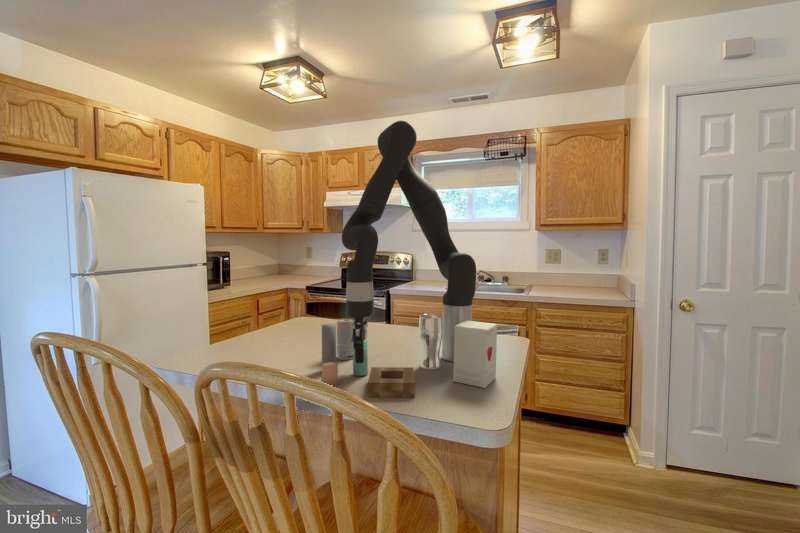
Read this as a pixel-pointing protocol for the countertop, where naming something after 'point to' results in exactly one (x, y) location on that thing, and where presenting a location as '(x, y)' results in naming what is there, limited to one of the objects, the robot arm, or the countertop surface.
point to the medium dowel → (361, 368)
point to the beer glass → (430, 340)
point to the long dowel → (328, 343)
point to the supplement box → (475, 353)
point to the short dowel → (330, 373)
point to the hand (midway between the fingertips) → (360, 359)
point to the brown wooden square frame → (391, 382)
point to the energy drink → (344, 339)
